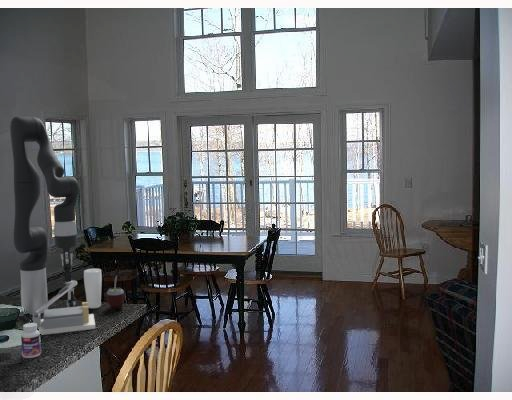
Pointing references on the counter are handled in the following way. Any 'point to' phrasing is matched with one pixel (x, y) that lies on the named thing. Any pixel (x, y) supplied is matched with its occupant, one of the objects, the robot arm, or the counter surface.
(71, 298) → the push button
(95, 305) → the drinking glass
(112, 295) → the mate gourd
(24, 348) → the pill bottle
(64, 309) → the base
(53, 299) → the latch bar
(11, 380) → the counter surface
